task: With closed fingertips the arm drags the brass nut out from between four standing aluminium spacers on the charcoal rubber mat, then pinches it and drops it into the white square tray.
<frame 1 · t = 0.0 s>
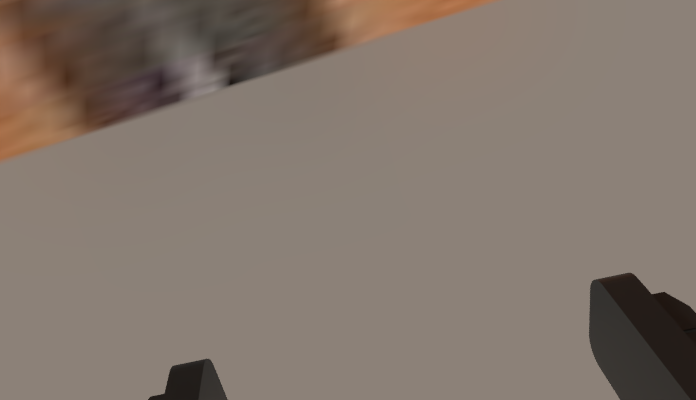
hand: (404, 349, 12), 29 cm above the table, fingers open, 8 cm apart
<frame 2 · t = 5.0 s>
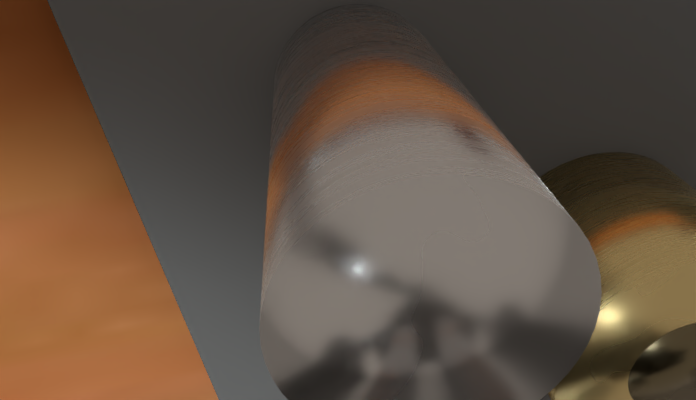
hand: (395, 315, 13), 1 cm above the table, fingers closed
spacers: (663, 352, 11), on the mat, point 4 cm above the table
nut: (632, 298, 12), on the mat, touching gripper
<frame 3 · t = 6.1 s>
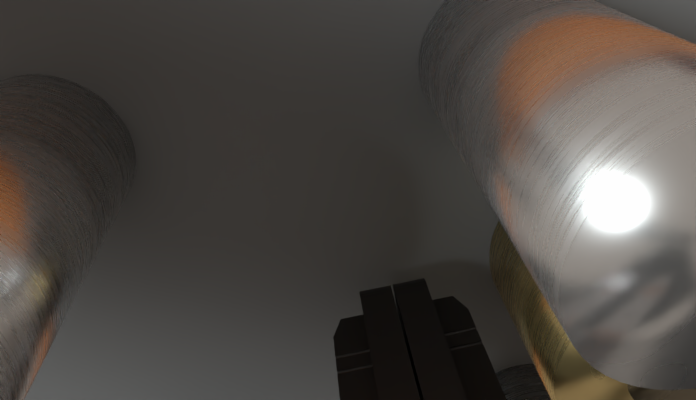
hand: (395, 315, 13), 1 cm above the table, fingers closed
mat: (626, 225, 14), on the table
nut: (632, 297, 12), on the mat, touching gripper
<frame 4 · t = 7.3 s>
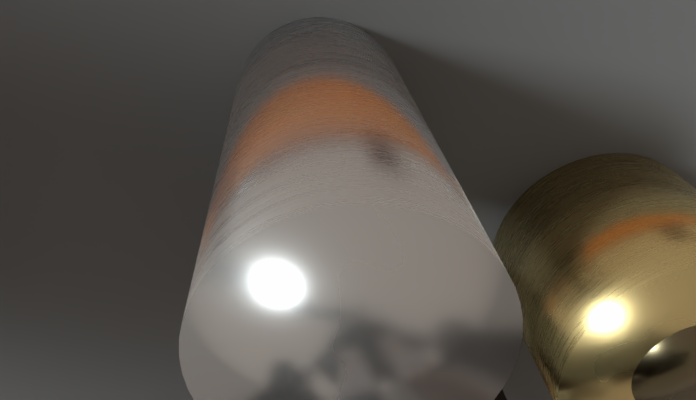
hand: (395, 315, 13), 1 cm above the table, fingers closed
mat: (481, 260, 15), on the table
nut: (635, 300, 12), on the mat, touching gripper
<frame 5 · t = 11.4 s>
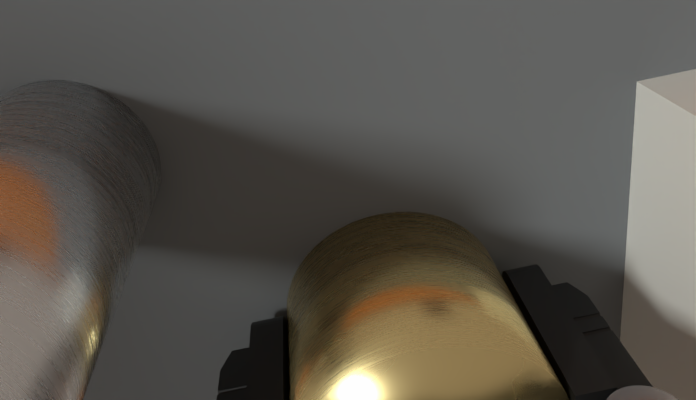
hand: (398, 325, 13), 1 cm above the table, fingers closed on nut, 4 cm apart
mat: (291, 315, 14), on the table
nut: (411, 368, 12), on the mat, touching gripper
when the fingers open (3 cm above the table, at t = 16.1 s): nut drops 2 cm, resting on white square tray.
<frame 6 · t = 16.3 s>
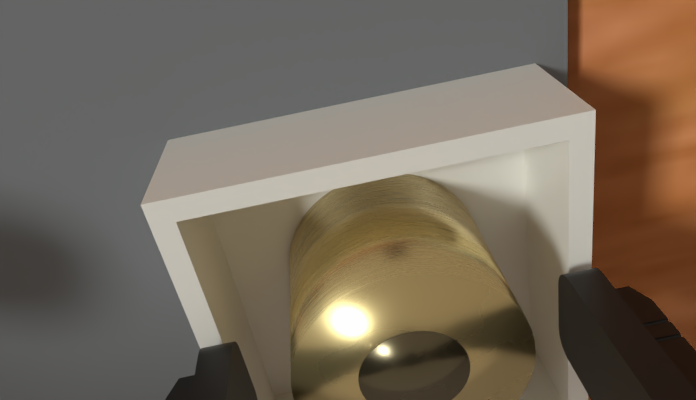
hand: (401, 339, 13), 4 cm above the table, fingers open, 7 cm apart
white square tray: (380, 253, 16), resting on mat
nut: (397, 308, 13), in the white square tray, point 3 cm above the table
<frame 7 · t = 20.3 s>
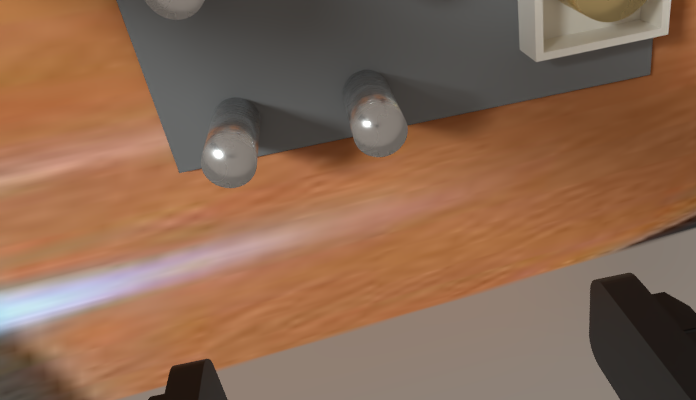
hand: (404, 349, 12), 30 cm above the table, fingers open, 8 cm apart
spacers: (284, 48, 35), on the mat
mat: (397, 8, 39), on the table
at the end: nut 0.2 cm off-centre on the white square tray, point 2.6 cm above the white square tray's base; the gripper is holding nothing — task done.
